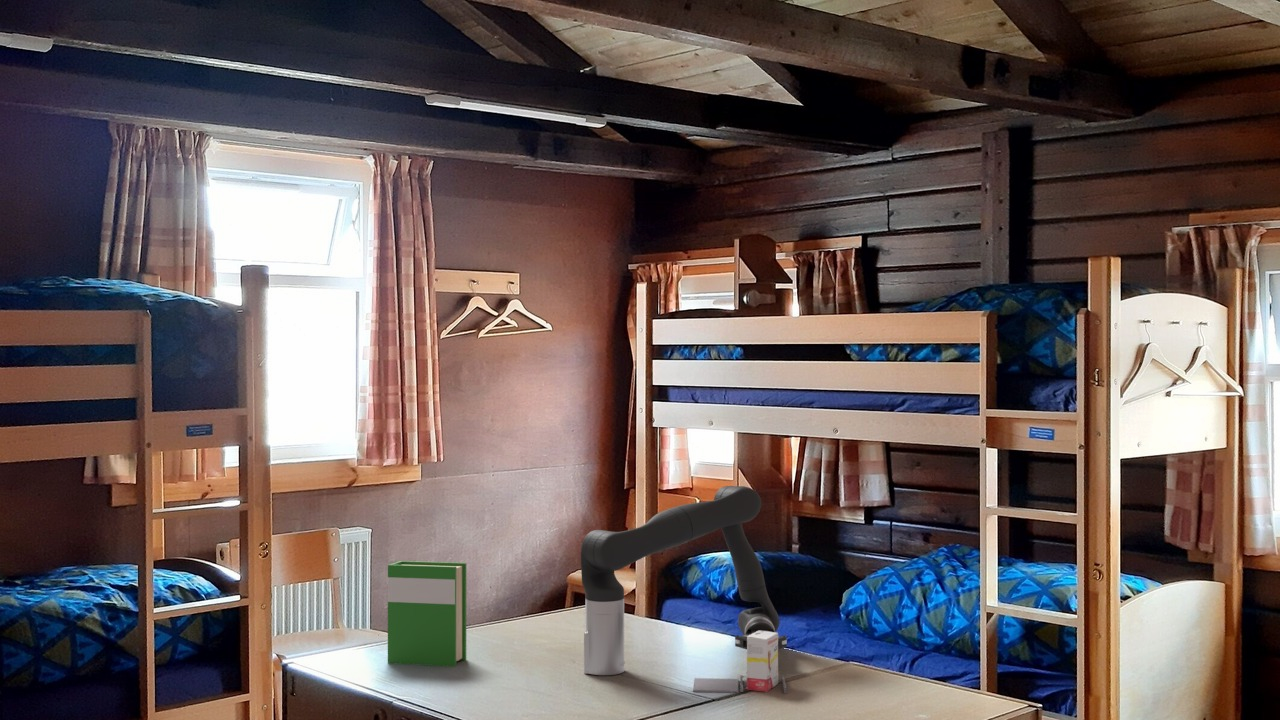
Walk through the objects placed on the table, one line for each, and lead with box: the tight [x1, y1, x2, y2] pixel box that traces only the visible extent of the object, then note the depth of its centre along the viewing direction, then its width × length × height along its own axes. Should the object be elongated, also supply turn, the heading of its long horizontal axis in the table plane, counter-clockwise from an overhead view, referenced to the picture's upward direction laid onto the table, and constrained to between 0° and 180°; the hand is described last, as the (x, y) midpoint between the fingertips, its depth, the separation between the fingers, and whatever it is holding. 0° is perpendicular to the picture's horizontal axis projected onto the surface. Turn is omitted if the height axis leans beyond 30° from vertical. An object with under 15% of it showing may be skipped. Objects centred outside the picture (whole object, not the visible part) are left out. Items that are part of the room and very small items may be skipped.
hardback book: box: [387, 560, 467, 667], centre depth 295 cm, size 18×7×24 cm, turn 77°
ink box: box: [746, 631, 779, 693], centre depth 268 cm, size 9×5×12 cm, turn 155°
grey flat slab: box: [692, 675, 787, 694], centre depth 268 cm, size 20×11×1 cm, turn 86°
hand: (761, 649), depth 277 cm, fingers closed
